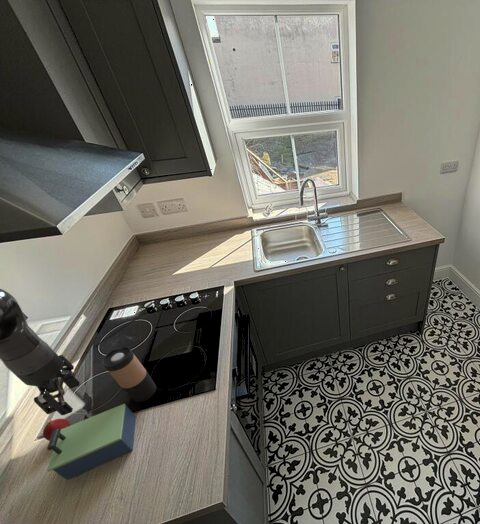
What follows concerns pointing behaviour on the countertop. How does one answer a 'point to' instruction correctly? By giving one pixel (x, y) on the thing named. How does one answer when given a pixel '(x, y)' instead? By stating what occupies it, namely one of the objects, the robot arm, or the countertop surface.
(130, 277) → the countertop surface
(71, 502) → the countertop surface
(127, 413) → the box
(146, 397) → the travel mug
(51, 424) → the onion
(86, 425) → the lunchbox lid
